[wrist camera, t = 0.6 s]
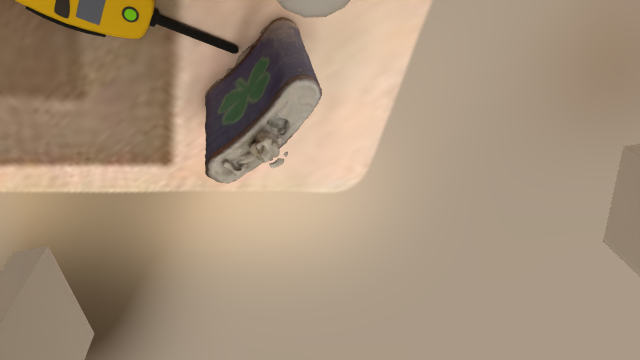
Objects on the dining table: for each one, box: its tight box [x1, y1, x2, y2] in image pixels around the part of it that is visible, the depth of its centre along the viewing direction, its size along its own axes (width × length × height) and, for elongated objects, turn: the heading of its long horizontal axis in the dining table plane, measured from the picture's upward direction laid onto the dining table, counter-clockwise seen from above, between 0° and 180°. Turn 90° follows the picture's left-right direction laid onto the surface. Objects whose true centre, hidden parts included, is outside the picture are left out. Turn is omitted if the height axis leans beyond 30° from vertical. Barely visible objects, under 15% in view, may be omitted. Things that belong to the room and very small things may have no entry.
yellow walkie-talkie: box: [16, 0, 239, 53], centre depth 30 cm, size 5×2×15 cm
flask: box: [205, 18, 322, 183], centre depth 31 cm, size 9×3×11 cm, turn 133°
